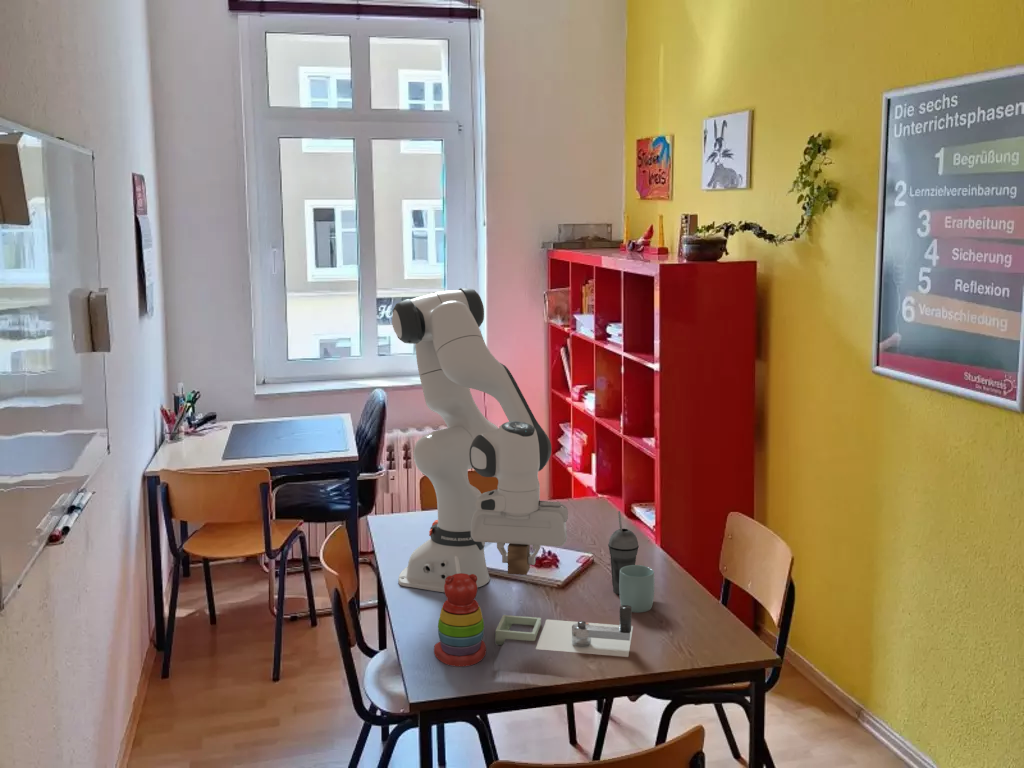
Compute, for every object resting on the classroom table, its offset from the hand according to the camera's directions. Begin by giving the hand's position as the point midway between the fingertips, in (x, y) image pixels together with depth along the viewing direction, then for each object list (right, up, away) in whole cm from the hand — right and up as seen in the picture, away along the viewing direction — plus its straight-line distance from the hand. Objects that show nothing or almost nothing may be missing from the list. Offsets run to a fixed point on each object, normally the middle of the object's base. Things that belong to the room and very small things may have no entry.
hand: (518, 562), depth 206 cm
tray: (0, -17, +3) cm, 17 cm away
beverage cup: (+25, -12, +28) cm, 40 cm away
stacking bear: (-12, -18, -6) cm, 23 cm away
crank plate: (+14, -17, 0) cm, 22 cm away
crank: (+17, -16, -5) cm, 24 cm away
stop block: (0, -2, 0) cm, 2 cm away
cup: (+27, -15, +16) cm, 34 cm away
